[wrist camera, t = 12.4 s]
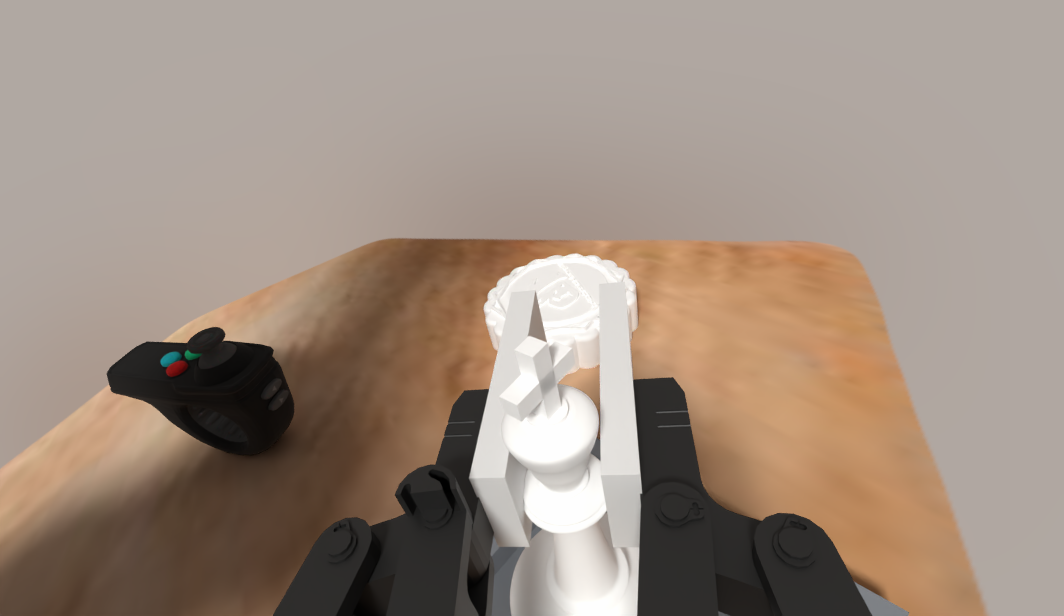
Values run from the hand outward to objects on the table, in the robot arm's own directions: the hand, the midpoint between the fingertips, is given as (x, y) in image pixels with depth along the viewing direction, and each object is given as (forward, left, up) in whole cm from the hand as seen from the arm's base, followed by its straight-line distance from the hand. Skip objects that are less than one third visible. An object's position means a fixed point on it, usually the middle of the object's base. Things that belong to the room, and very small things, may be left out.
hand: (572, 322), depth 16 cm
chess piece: (+3, -4, -6) cm, 8 cm away
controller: (-26, -8, -16) cm, 32 cm away
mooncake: (-14, +14, -16) cm, 25 cm away
